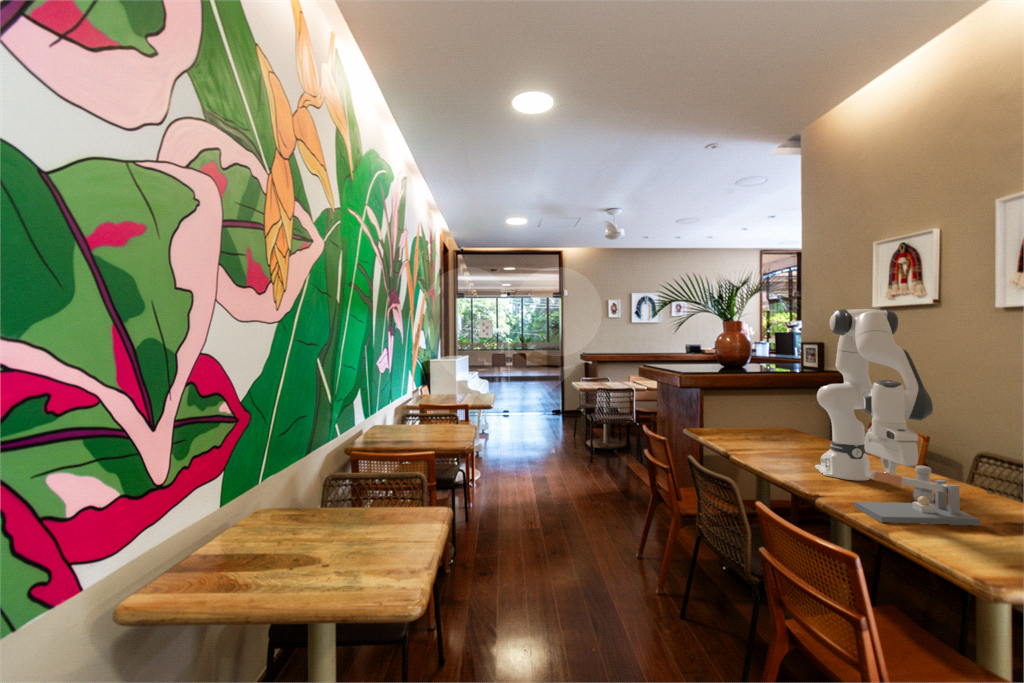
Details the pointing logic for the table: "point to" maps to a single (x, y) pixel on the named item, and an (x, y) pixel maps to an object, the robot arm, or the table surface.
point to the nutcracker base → (913, 514)
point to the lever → (906, 481)
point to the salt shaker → (924, 476)
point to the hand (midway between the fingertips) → (889, 473)
